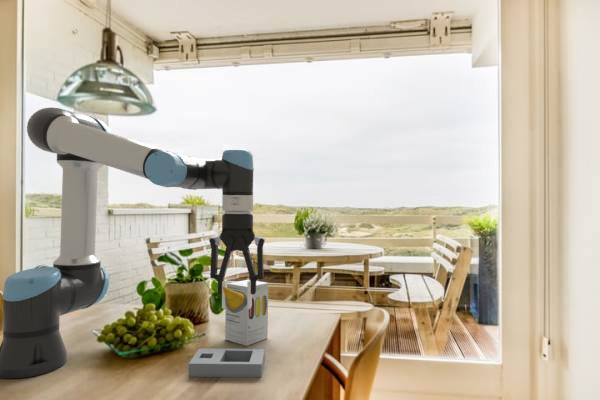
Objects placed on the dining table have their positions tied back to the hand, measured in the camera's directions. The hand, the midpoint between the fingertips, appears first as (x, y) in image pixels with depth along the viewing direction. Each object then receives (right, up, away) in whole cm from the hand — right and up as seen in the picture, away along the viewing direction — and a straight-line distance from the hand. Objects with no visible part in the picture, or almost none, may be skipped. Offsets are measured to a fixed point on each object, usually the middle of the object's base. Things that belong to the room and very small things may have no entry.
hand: (237, 307), depth 101 cm
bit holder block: (-2, -15, 0) cm, 15 cm away
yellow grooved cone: (0, -2, 0) cm, 2 cm away
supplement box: (-1, -16, +22) cm, 27 cm away
